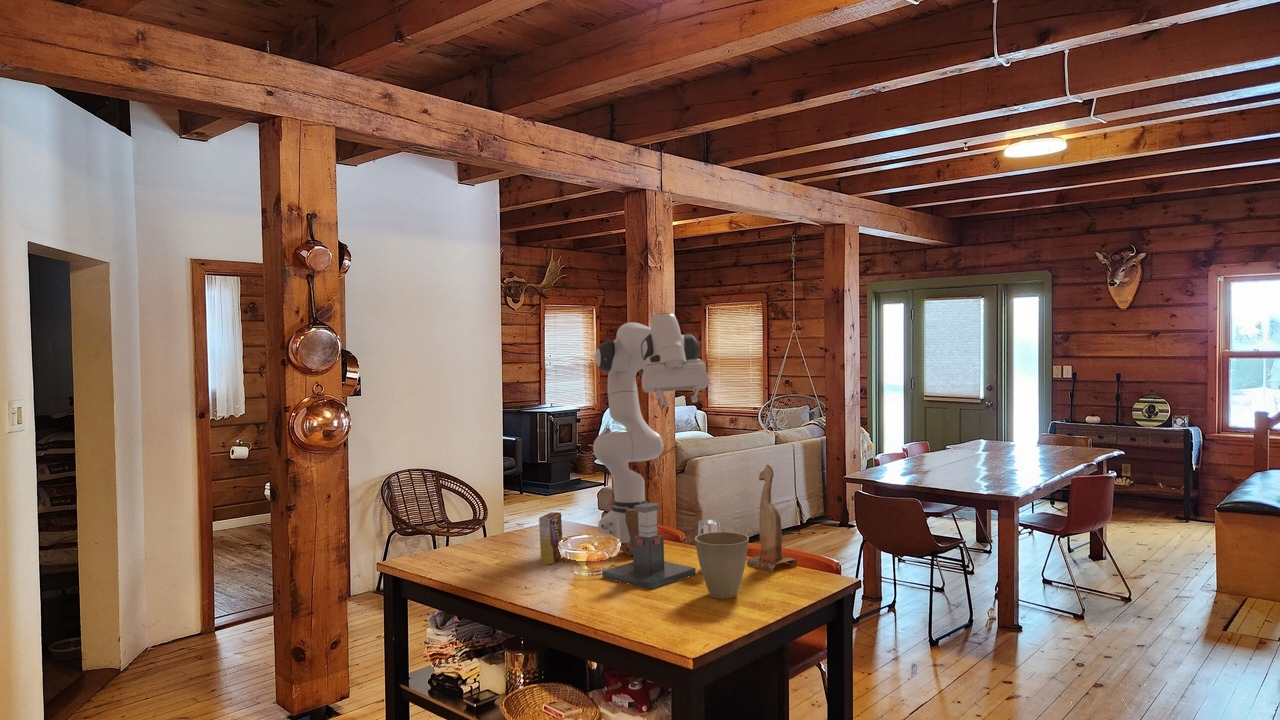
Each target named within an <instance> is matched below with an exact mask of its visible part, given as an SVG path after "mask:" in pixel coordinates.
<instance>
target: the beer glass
mask: <svg viewBox="0 0 1280 720" xmlns="http://www.w3.org/2000/svg"><path fill="white" fill-rule="evenodd" d="M720 524H721V523H720V520H719V519H710V518H708V519H701V520H698V529H697V536H698V535H700V534H704V533H710V532H722V531H721V525H720ZM699 567H700V566H699ZM700 571H701V567H700Z"/></svg>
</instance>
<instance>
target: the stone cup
mask: <svg viewBox="0 0 1280 720" xmlns="http://www.w3.org/2000/svg"><path fill="white" fill-rule="evenodd" d="M625 520H626V524H627V527H628V531H629V535H630V542H629V543H626V544H625V545H622V546H621V547H620V550H621V551H622V552H623V553H624V554H625V555H626V556H633V537H635V536H639V526H638V525H639V524H638V512H636V511H634V509H627V510H626V513H625Z"/></svg>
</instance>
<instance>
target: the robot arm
mask: <svg viewBox="0 0 1280 720" xmlns="http://www.w3.org/2000/svg"><path fill="white" fill-rule="evenodd" d="M650 319H651V320H650V326H647V325H645V324H642V323H639V322H626V323H624V324H621V326H620V327H619V328H618V329H617V332H616V336H615V337H616V338H615V339H614V340H612V339H610V338H607V340H606V341H604V342H602V343H600V344H598V346H597V347H596V349H595V354H594V355H595V356H594V361H595V364H596V367H597V369H598V370H600V371H601V372H608V374H607V397H608V398H607V399H608V410H609V415H610V418H611V419H612V421H615V422H616V423H619V424H621V425H622V426H623V427H624V428H625V429H626V431H617V432H607V433H603V434H600V435H597V437H596V438H595V439H594V442H593V447H592V449H593V451H592V452H593V454H594V457H595V458H596V459H597V460H598V461H599V462H600V463H602V465H604V466H605V467H606V469H608V472H609V473H610V475H611V477H612V483H613V493H614V494H613V495H614V498H613V499H614V500H613V501H609V502H608V503H609V504H608V505H609V506H611V508H610V511H608V512H607V513H606V514H605V515H604V516H602V517H601V519H599V521H598V526H597V529H598V530H597V532H598V533H604V534H609V535H612V536H614V537H617V538H619V539H620V540H621V541H622V543H621V544H628V543H629V542H630V535H629V531H628V527H627V524H626V520H625V513H626V510H627V509H634V506H636V505H640V504H645V503H647V500H646V491H645V490H646V488H645V485H646V484H645V478H644V477H643V476H642V475H641V474H640V473H638V472H636V471H634V470H632V469H630V467H629V463H632V462H633V463H634V462H646V461H650V460H655V459H658V458H659V457H660V456H661V454H662V452H663V449H664V442H663V438H662V436H661V435H660V434H659V433H658V432H657V431H655V430H653V428H651V427H650V425H648V424H647V422H646V421H645V419H644V417H643V415H642V410H641V405H640V401H639V391H638V386H637V381H636V380H637V379H636V377H637V373H638V372H639V374H640V375H641V387H642V391H643V392H645V393H647V394H648V393H654V394H655V396H656V398H658V400H660V405H661V406H663V405H665V406H666V405H667V404H668V400H667V397H665V396H663V395H662V392H675V391H676V392H677V391H686V390H688V391H689V390H692V392H693V393H694V394H691V397H690V400H691V403H698V401H699V400H698V393H699V390H700V389H701V390H702V389H706V388H707V387H708V386H709V384H710V379H709V374H708V372H707V365H706V363H705V362H704V361H703V360H701V359H699V357H700V354H701V346H700V342H699V341H698V339H697V338H696V337H695V336H694V335H692V334H691V333H688V334H687V333H686V334H682V333H681V328H680V325H679V322H678V319H677V317H676V315H675V314H673V313H670V312H661V313H657V314H655V315H653V316H652V317H651V318H650Z"/></svg>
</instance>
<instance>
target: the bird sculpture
mask: <svg viewBox="0 0 1280 720" xmlns="http://www.w3.org/2000/svg"><path fill="white" fill-rule="evenodd" d="M773 478H774V470H773V467H772V466H770V465H769V464H766V465H765V468H764V470H762V471H760V473H759V477H758V479H759V481H765V482H764V485H763V488H762V492H761V497H760V503H759V514H758V515H759V516H758V517H759V541H760V544H761V547H760V551H759V555H758V556H753V557H749V558H747V559H746V565H747V566H750V567H755V568H757V569H761V570H766V571H767V572H771V571H772V572H774V569H775V567H776V566H777V565H779V564H782V563H786V564H790V565H794V566H795V565H796V566H798V561H797V559H795V558H792V557H788V556H787V557H786V556H783V549H782V548H783V546H782V545H783V544H782V543H783V542H782V541H783V540H782V539H783V534H782V532H783V531H782V530H783V529H782V517H781V514H780V513H779V511H778V509H777V508H776V506H775V505H774V504H773V502H772V484H773ZM772 572H771V573H772Z"/></svg>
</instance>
